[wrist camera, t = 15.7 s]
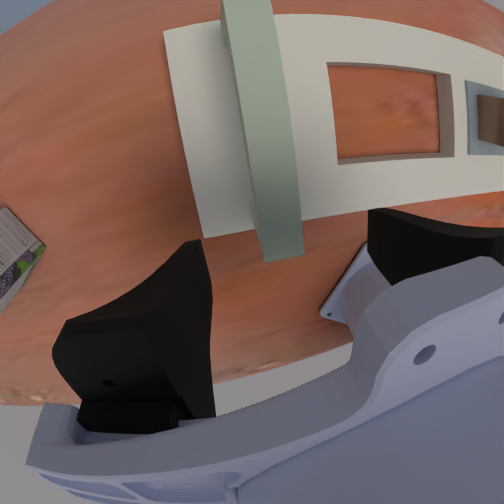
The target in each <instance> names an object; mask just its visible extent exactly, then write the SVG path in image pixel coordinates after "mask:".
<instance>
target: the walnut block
mask: <svg viewBox="0 0 504 504" xmlns="http://www.w3.org/2000/svg"><path fill="white" fill-rule="evenodd" d="M477 107H478V139H479V140H482V141H486V142H489V143H492V144H495V145H499V146H502V147H504V98H499V97H492V96H485V95H477Z"/></svg>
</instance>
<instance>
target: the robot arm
mask: <svg viewBox="0 0 504 504" xmlns="http://www.w3.org/2000/svg"><path fill="white" fill-rule="evenodd" d="M212 303H213V298H212V284H211V279H210V275H209V271H208V267H207V263H206V260H205V256H204V252H203V248H202V244H201V240H200V239H198V240H193V241H188V242H185V243H184V244H183V245H181V246H180V247H179V248H178V250H177V251H176V252H175V253H174V254H173V255H172V256H171V257H170V258H169V259H168V260H167V261H166V262H165V263H164V264H163V265H161V266H160V267H159V268H158V269H157V270H156V271H155V272H154V273H153V274H152V275H151V276H149V277H148V278H147V279H146V280H144V281H143V282H142V283H140V284H139V285H138V286H136V287H135V288H133V289H132V290H130V291H129V292H127V293H125V294H124V295H122V296H120V297H119V298H117V299H115V300H113V301H112V302H110V303H108V304H106V305H104V306H101V307H99V308H97V309H95V310H93V311H90V312H88V313H85V314H82V315H80V316H77V317H74V318H72V319H68V320H66V322H65V324H64V326H63V328H62V330H61V332H60V334H59V336H58V338H57V340H56V342H55V344H54V346H53V348H52V358H53V361H54V364H55V366H56V368H57V369H58V371H59V372H60V374H61V375H62V377H63V378H64V379H65V380H66V382H67V383H68V384H69V385H70V387H71V388H72V389H73V390H74V391H75V393H76V394H77V395H78V396H79V397H80V398H81V399H82V402H81V406H80V409H78V408H77V407H75V406H72V405H68V404H57V403H44V406H43V409H42V412H41V414H40V417H39V420H38V423H37V426H36V429H35V432H34V435H33V439H32V442H31V445H30V449H29V452H28V456H27V459H26V463H25V465H26V467H27V468H28V469H30V470H31V471H33V472H34V473H35V474H37V475H39V476H40V477H42V478H43V479H45V480H46V481H48V482H50V483H51V484H53V485H55V486H56V487H58V488H60V489H61V490H63V491H65V492H67V493H69V494H70V495H72V496H74V497H76V498H80V499H84V500H88V501H93V502H97V503H102V504H504V228H486V227H472V226H463V225H457V224H451V223H445V222H441V221H436V220H432V219H428V218H424V217H420V216H417V215H413V214H409V213H406V212H402V211H398V210H394V209H388V208H375V209H368V238H367V243H365V244H364V245H363V247H362V248H361V250H360V251H359V253H358V255H357V256H356V258H355V259H354V261H353V262H352V264H351V265H350V267H349V268H348V270H347V271H346V273H345V274H344V276H343V277H342V279H341V280H340V282H339V283H338V285H337V286H336V288H335V289H334V290H333V292H332V293H331V295H330V296H329V298H328V299H327V300H326V302H325V303H324V305H323V306H322V307H321V309H320V311H319V314H320V316H321V317H324V318H327V319H330V320H334V321H337V322H340V323H343V324H347V326H348V327H349V329H350V331H351V333H352V335H353V337H354V339H353V348H352V354H351V357H350V360H349V361H348V362H347V363H346V364H345V365H343V366H341V367H339V368H337V369H336V370H333V371H331V372H329V373H327V374H325V375H323V376H321V377H319V378H316V379H314V380H312V381H310V382H307V383H305V384H303V385H301V386H298V387H296V388H294V389H291V390H289V391H287V392H284V393H282V394H279V395H277V396H274V397H272V398H269V399H267V400H264V401H261V402H259V403H256V404H253V405H250V406H248V407H245V408H242V409H239V410H236V411H233V412H230V413H228V414H224V415H221V416H218V417H216V411H215V403H214V395H213V385H212V374H211V361H210V334H211V319H212ZM330 312H331V313H330ZM328 313H330V314H328Z"/></svg>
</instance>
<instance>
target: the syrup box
mask: <svg viewBox="0 0 504 504" xmlns="http://www.w3.org/2000/svg"><path fill="white" fill-rule="evenodd" d="M44 249H45V246H44V245H43V244H42V243H41V242H40V241H39V240H38V239H37V238H36V237H35V236H34V235H33V234H32V233H31V232H30V231H29V230H28V229H27V228H26V227H25V226H24V225H23V224H22V222H21V221H20V220H19V219H18V218H17V217H16V216H15V215H14V214H13V213H12V212H11V211H10V210H9V209H8V208H7V207H4V208H2V209H1V210H0V314H1V313H2V311H3V310H4V309H5V308H6V306H7V305H8V304H9V303H10V301H11V300H12V299H13V298H14V296H15V295H16V294H17V293H18V291H19V290H20V289H21V288H22V287H23V285H24V284H25V283H26V281H27V280H28V278H29V276H30V274H31V273H32V271H33V269H34V267H35V265H36V264H37V262H38V260H39V258H40V256H41V255H42V253H43V251H44Z"/></svg>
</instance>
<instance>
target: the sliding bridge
mask: <svg viewBox="0 0 504 504" xmlns="http://www.w3.org/2000/svg"><path fill="white" fill-rule="evenodd" d="M220 26H221V32H222V38H223V44H224V47H225V46H228V48H229V54H230V60H231V66H232V72H233V78H234V83H235V89H236V95H237V101H238V107H239V113H240V120H241V126H242V132H243V138H244V144H245V150H246V156H247V163H248V169H249V175H250V181H251V188H252V194H253V200H254V202H250V206H251V212H252V218H253V224H254V227H255V231H256V234H257V237H258V240H259V244H260V247H261V250H262V253H263V256H264V260H265V262H271V261H276V260H281V259H286V258H292V257H297V256H302V255H304V241H303V229H302V217H301V206H300V195H299V185H298V176H297V167H296V158H295V149H294V141H293V133H292V126H291V118H290V111H289V104H288V97H287V90H286V84H285V77H284V71H283V65H282V59H281V53H280V47H279V42H278V36H277V31H276V26H275V21H274V15H273V10H272V6H271V1H270V0H221V21H220Z"/></svg>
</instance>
